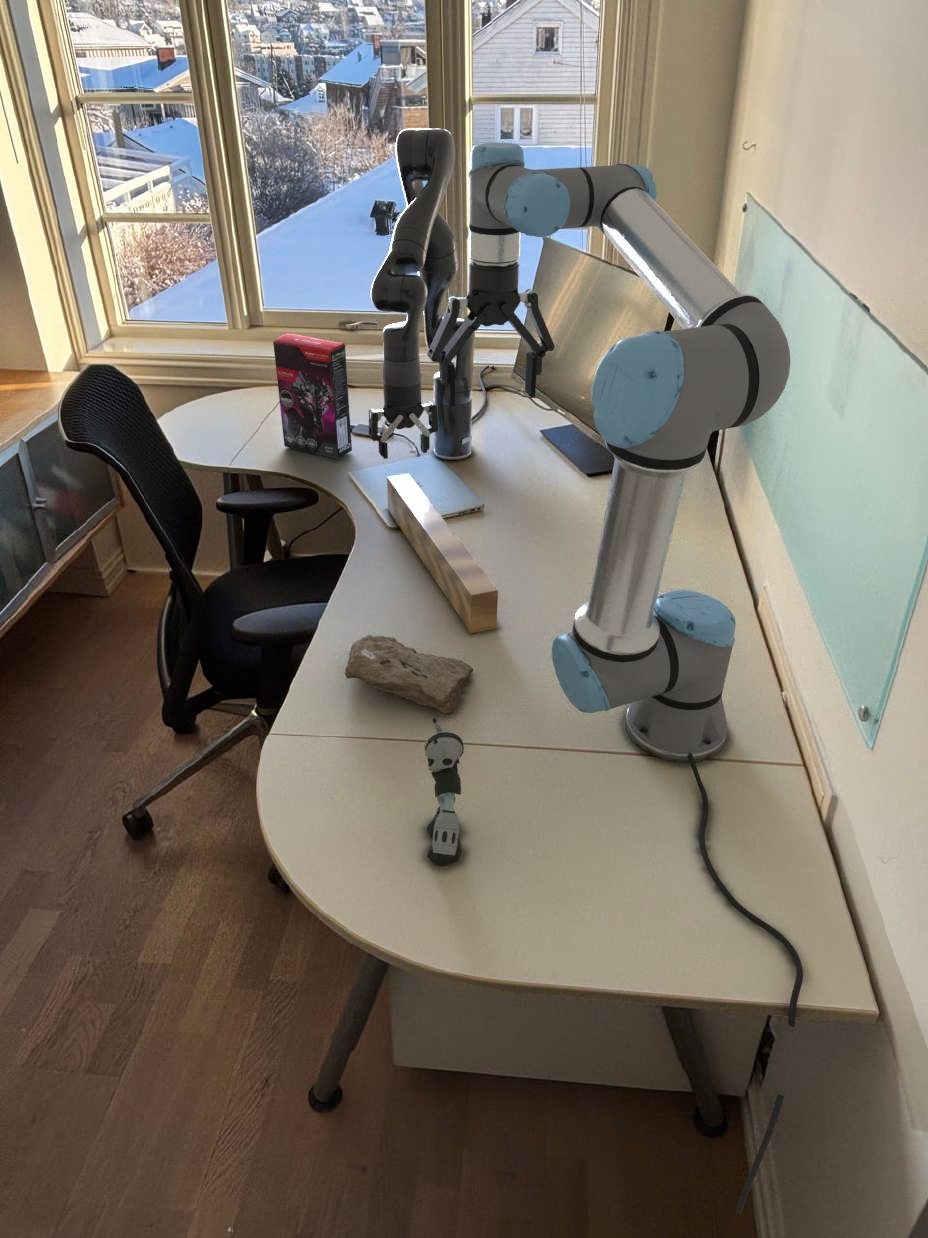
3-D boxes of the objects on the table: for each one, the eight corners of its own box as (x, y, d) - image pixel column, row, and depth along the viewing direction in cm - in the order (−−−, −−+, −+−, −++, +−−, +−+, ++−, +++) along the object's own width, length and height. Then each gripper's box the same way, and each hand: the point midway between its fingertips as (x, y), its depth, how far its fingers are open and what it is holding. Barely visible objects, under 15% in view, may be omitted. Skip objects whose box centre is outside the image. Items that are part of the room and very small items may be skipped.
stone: (320, 686, 146) (326, 652, 144) (355, 651, 160) (362, 621, 157) (443, 730, 143) (452, 697, 140) (469, 692, 156) (477, 661, 154)
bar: (496, 628, 166) (498, 590, 162) (470, 633, 165) (471, 595, 160) (409, 506, 206) (408, 473, 201) (388, 510, 204) (386, 476, 200)
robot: (466, 900, 116) (468, 784, 104) (427, 902, 115) (425, 785, 104) (459, 789, 132) (460, 678, 121) (425, 790, 132) (423, 679, 120)
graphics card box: (282, 447, 232) (270, 339, 217) (298, 438, 237) (288, 331, 222) (338, 461, 225) (330, 350, 210) (354, 451, 230) (347, 342, 215)
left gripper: (429, 368, 188) (430, 443, 197) (362, 376, 184) (366, 452, 193) (442, 380, 182) (442, 456, 191) (372, 389, 178) (376, 466, 187)
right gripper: (562, 249, 142) (553, 383, 154) (405, 259, 136) (409, 398, 148) (581, 260, 137) (571, 398, 148) (419, 272, 130) (422, 415, 142)
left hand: (404, 454), depth 192 cm, fingers open, 8 cm apart
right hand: (490, 398), depth 148 cm, fingers open, 13 cm apart
